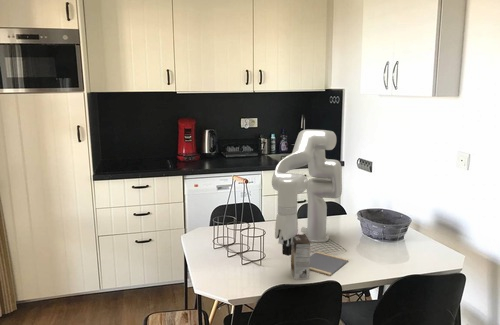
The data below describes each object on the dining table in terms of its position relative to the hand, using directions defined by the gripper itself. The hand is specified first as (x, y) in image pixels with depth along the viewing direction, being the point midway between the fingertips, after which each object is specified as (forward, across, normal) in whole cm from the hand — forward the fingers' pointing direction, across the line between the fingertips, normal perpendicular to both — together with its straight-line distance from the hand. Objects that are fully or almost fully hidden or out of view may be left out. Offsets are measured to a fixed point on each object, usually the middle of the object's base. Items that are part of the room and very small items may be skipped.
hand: (286, 254), depth 168 cm
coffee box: (+13, -10, 0) cm, 16 cm away
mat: (+12, -25, +3) cm, 28 cm away
